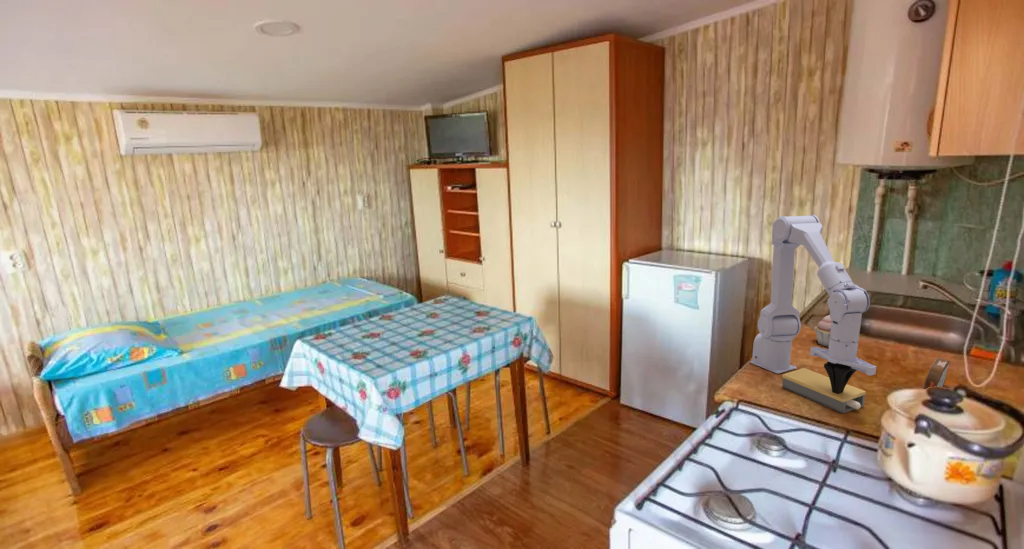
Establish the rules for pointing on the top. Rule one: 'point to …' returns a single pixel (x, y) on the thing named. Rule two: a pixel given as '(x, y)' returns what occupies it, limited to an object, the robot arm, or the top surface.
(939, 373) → the tin
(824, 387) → the duct cover
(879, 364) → the top surface
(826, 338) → the cupcake
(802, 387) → the cable duct
